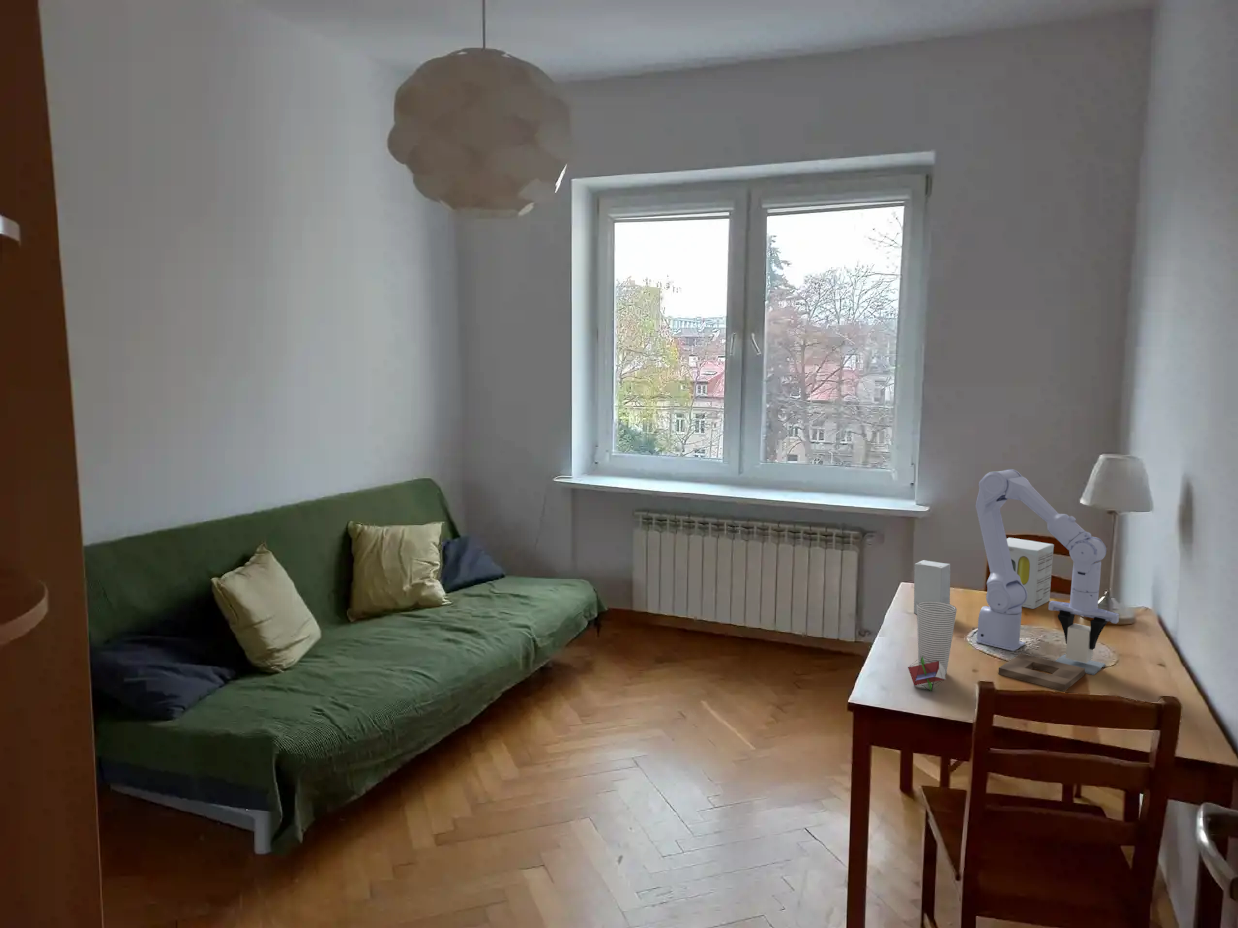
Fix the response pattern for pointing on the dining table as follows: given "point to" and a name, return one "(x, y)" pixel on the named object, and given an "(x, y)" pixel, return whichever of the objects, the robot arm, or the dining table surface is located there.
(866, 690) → the dining table surface
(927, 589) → the skincare box
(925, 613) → the cup
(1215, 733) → the dining table surface
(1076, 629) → the cream block
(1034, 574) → the supplement box
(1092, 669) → the slate mat
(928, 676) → the geometric puzzle
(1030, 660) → the pocket board
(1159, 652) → the dining table surface
